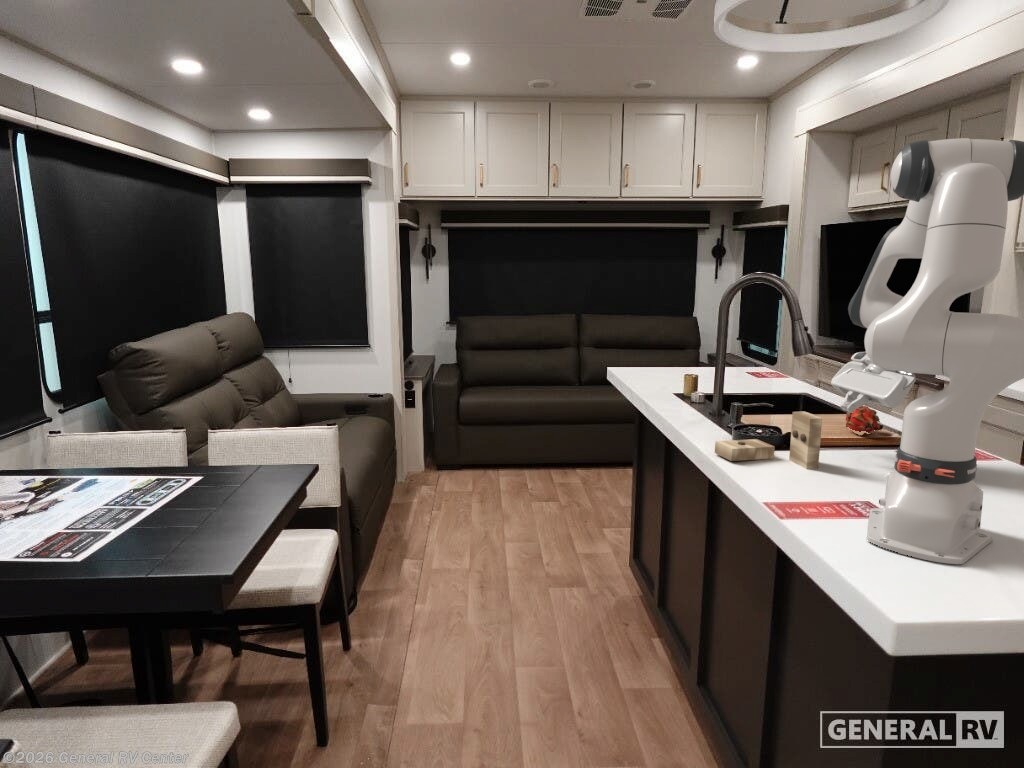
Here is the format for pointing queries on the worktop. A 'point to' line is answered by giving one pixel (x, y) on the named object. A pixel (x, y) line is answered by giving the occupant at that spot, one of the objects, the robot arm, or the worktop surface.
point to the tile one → (744, 449)
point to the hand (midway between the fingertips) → (845, 409)
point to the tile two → (805, 439)
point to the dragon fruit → (863, 420)
